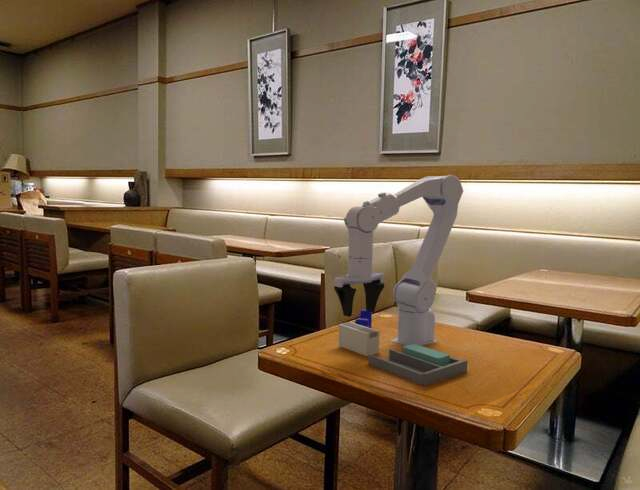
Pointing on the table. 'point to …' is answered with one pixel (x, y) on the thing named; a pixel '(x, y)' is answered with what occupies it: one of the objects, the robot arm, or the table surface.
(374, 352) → the grey striped bar
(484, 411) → the table surface
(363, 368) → the table surface
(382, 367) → the grey divided tray
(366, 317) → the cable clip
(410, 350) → the teal rectangular prism
